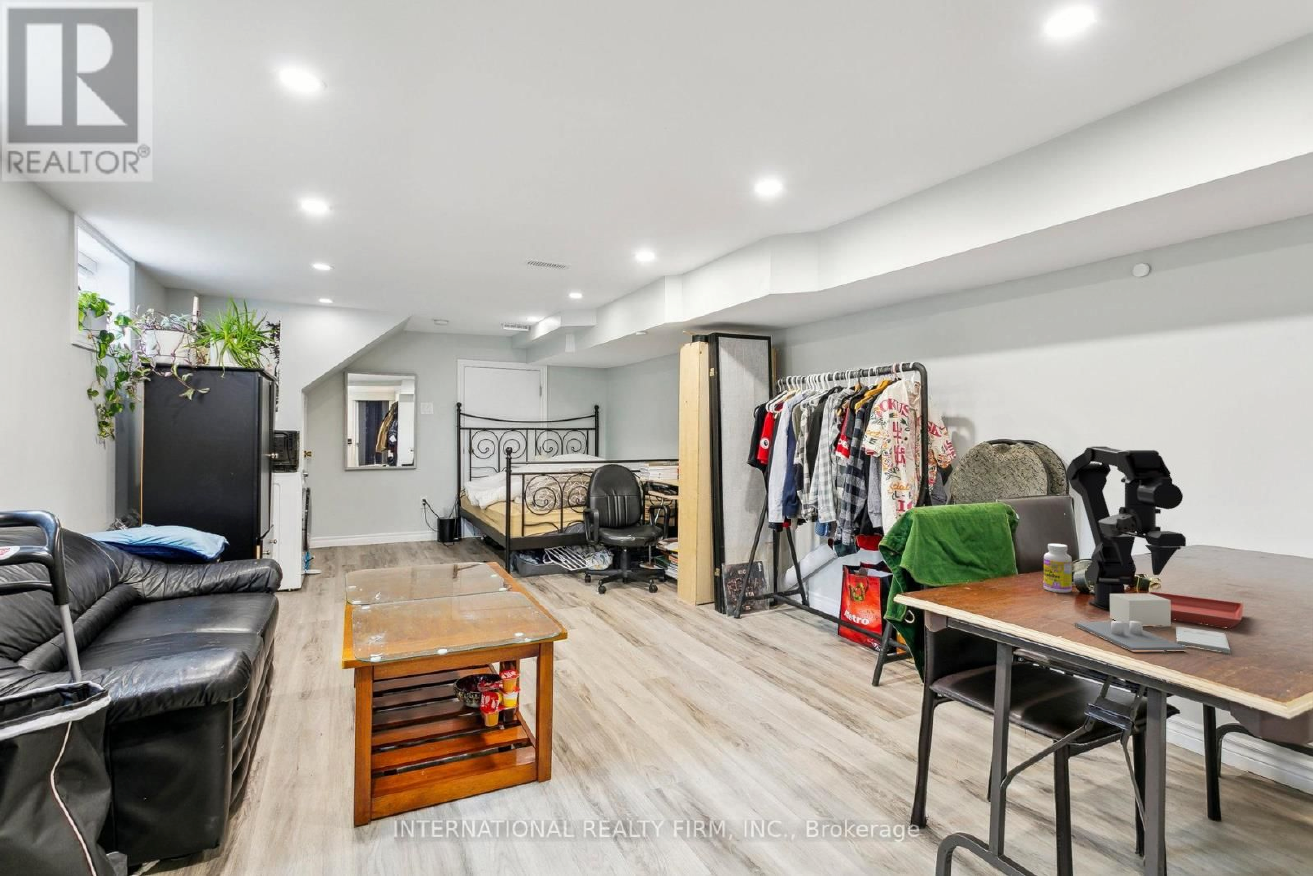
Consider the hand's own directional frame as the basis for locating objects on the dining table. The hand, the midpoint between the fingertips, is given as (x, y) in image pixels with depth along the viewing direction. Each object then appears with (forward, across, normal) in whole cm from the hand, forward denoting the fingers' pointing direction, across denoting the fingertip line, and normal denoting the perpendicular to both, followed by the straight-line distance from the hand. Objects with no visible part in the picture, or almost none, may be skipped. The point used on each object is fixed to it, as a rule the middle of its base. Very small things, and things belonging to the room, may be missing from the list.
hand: (1139, 570), depth 144 cm
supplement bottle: (+13, -30, +1) cm, 33 cm away
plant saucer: (+13, -5, +16) cm, 21 cm away
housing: (+12, 0, 0) cm, 12 cm away
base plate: (+12, +11, -12) cm, 20 cm away
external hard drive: (+13, +14, +2) cm, 19 cm away
